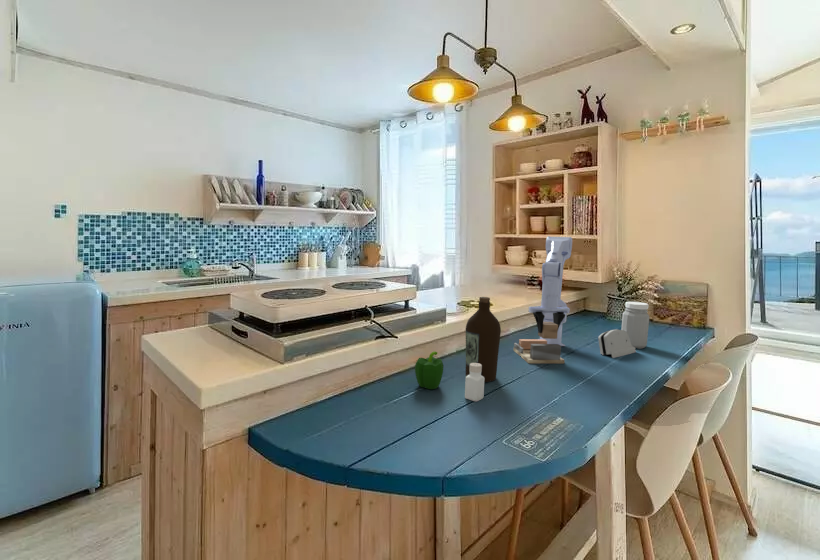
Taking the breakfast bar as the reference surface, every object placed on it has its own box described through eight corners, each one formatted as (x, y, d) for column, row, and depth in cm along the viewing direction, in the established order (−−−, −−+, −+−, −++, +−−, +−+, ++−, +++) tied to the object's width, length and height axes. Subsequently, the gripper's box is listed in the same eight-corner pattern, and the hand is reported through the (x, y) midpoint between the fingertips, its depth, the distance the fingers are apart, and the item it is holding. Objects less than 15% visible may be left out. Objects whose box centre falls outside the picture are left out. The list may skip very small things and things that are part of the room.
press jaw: (518, 347, 161) (519, 339, 161) (544, 347, 162) (544, 339, 161) (520, 349, 158) (521, 340, 158) (546, 349, 159) (547, 341, 159)
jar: (622, 341, 182) (625, 300, 180) (647, 345, 176) (652, 303, 174) (617, 346, 174) (621, 303, 172) (644, 350, 168) (649, 306, 166)
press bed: (513, 350, 162) (514, 334, 162) (546, 350, 164) (547, 334, 163) (528, 363, 147) (529, 345, 146) (564, 363, 148) (565, 346, 147)
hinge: (613, 358, 156) (606, 331, 158) (601, 359, 160) (595, 333, 162) (636, 352, 166) (630, 326, 167) (625, 353, 169) (618, 328, 171)
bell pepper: (422, 393, 116) (423, 358, 115) (410, 383, 124) (411, 350, 123) (448, 389, 120) (450, 355, 118) (435, 380, 127) (437, 347, 126)
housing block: (538, 335, 155) (538, 321, 154) (551, 335, 156) (552, 321, 155) (543, 338, 150) (544, 324, 150) (557, 338, 151) (557, 324, 150)
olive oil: (485, 370, 138) (489, 294, 135) (505, 380, 128) (509, 299, 126) (457, 373, 134) (460, 295, 131) (475, 385, 124) (479, 301, 121)
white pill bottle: (476, 402, 111) (478, 367, 110) (463, 398, 113) (465, 364, 112) (484, 398, 114) (486, 364, 113) (471, 394, 116) (473, 361, 115)
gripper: (534, 296, 147) (532, 334, 148) (574, 297, 148) (571, 335, 149) (527, 293, 154) (525, 330, 155) (565, 294, 155) (563, 330, 156)
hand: (547, 332), depth 153 cm, fingers closed on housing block, 5 cm apart
